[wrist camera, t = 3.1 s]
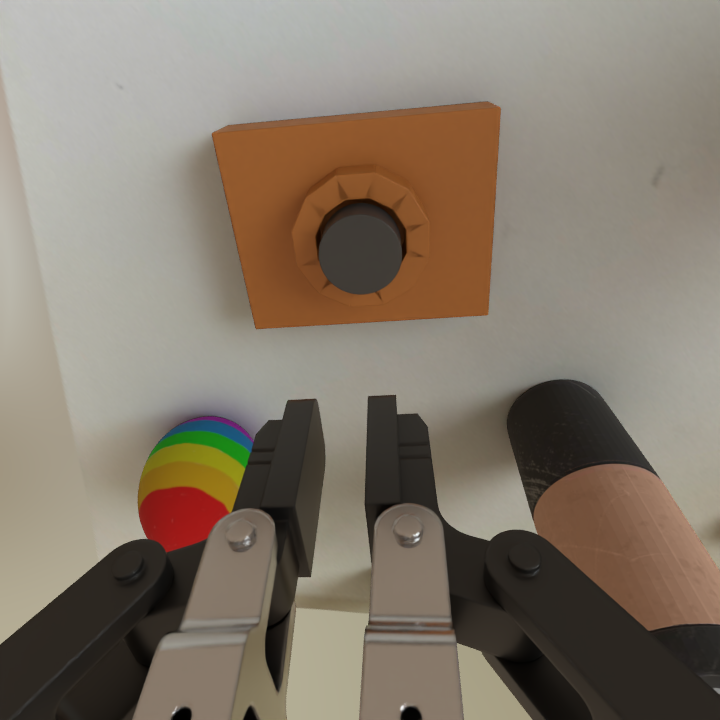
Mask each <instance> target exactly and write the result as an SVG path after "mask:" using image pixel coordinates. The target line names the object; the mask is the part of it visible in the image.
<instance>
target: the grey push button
mask: <svg viewBox="0 0 720 720" xmlns="http://www.w3.org/2000/svg"><path fill="white" fill-rule="evenodd" d="M318 254H319V262H320V266H321V269H322V271H323V273H324V275H325V276H326V278H327V279H328V280H329V281H330V282H331V283H332V284H333V285H334V286H336V287H337V288H339V289H341V290H342V291H345V292H348V293H351V294H358V295H364V294H370V293H374V292H377V291H379V290H381V289H383V288H384V287H386V286H387V285H388V284H389V283H391V282H392V280H393V279H394V278H395V277H396V275H397V273H398V271H399V269H400V266H401V262H402V247H401V238H400V233H399V229H398V227H397V224H396V223H395V221H394V219H393V218H392V217H391V216H390V215H389V214H388V213H387V212H386V211H385V210H383V209H381V208H380V207H378V206H375V205H372V204H368V203H355V204H350V205H347V206H345V207H343V208H341V209H339V210H338V211H337V212H335V213H334V214H333V215H332V216H331V218H330V219H329V220H328V222H327V224H326V226H325V229H324V232H323V235H322V238H321V242H320V245H319V253H318Z"/></svg>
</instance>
